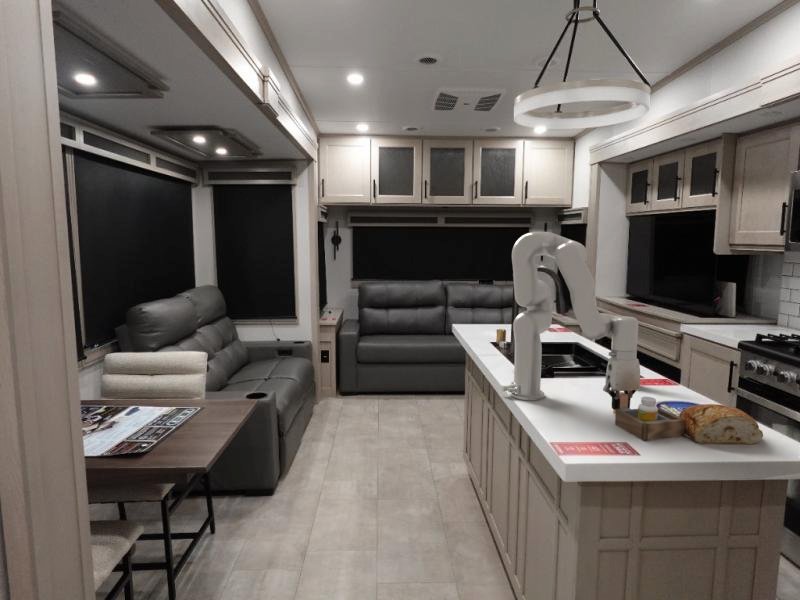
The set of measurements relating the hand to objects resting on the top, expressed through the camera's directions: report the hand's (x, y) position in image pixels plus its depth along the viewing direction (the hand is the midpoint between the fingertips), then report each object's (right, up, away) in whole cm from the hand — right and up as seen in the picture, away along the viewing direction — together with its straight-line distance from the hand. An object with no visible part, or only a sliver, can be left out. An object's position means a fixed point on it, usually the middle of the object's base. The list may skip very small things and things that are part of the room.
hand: (620, 408), depth 161 cm
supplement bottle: (+3, -4, -11) cm, 12 cm away
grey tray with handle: (+2, -3, -7) cm, 7 cm away
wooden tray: (+3, -4, -11) cm, 12 cm away
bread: (+22, -5, -15) cm, 27 cm away
